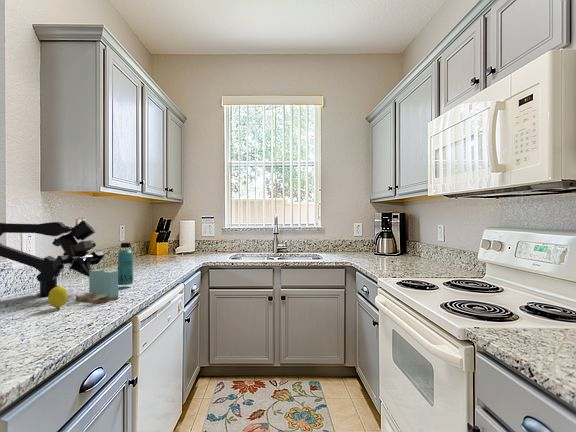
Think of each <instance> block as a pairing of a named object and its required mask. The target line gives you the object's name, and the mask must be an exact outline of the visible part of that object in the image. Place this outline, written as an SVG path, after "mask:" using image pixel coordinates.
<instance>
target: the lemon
mask: <svg viewBox="0 0 576 432" xmlns="http://www.w3.org/2000/svg"><path fill="white" fill-rule="evenodd" d="M68 295H69V294H68V292H67V289H66V288H65V287H63V286H60V285H57V286H56V287H55V288H53V289H52V290H51V291H50V292H49V296H47V297H48V299H47V301H48V304H49V305H50V306H51V307H53V308H54V309H58V310H59V309H60V308H61V307H63V306H65V304H66V303H67V301H68V298H69V297H68Z"/></svg>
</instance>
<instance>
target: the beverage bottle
mask: <svg viewBox="0 0 576 432" xmlns="http://www.w3.org/2000/svg"><path fill="white" fill-rule="evenodd" d="M131 247H132V246H131V242H121V243H120V248H121V249H122V250H120V251H117V271H118V286H129V285H133V284H134V283H133V282H134V252H133V250H131V249H126V248H131ZM124 248H125V249H124Z"/></svg>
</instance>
